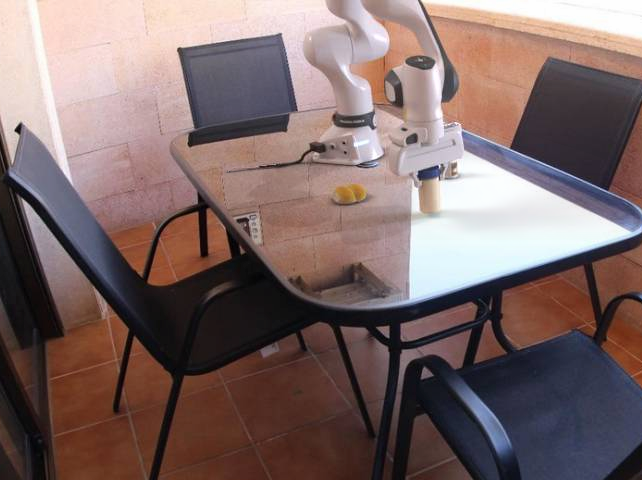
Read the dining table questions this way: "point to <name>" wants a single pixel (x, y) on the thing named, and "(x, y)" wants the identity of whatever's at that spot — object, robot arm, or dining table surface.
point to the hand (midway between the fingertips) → (429, 183)
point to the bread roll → (349, 194)
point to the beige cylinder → (429, 196)
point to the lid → (429, 172)
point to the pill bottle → (451, 170)
